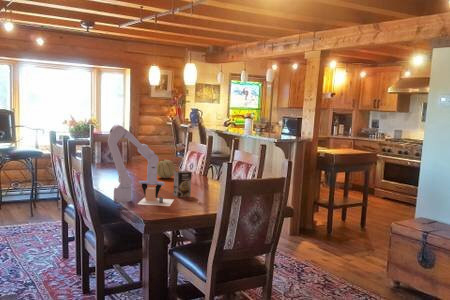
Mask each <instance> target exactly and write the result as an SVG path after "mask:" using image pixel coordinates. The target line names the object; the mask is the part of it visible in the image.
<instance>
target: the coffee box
mask: <svg viewBox="0 0 450 300" xmlns="http://www.w3.org/2000/svg"><path fill="white" fill-rule="evenodd" d="M172 190H173V193H172V195H173V196H174V197H177V198H185V197H188V198H191V190H192V171H187V170H181V171H178V170H177V171H176V170H175V172H174V174H173V189H172Z"/></svg>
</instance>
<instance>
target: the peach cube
mask: <svg viewBox="0 0 450 300" xmlns="http://www.w3.org/2000/svg"><path fill="white" fill-rule="evenodd" d="M144 198H145V200H150V201H155V200H156V199H158V197H157V198H156V187H148V186H147V188H146V196H145V195H144Z"/></svg>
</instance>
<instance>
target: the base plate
mask: <svg viewBox="0 0 450 300" xmlns="http://www.w3.org/2000/svg"><path fill="white" fill-rule="evenodd" d="M174 201H175V199H171V198H163V203H159V198H157V199H156V200H155V201H150V200H145V197H143V198H142V199H141V200H139V202H138V203H137V205H143V206H162V207H163V206H164V207H170V206H171V205H172V204H173V202H174Z"/></svg>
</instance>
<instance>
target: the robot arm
mask: <svg viewBox="0 0 450 300" xmlns="http://www.w3.org/2000/svg"><path fill="white" fill-rule="evenodd" d="M121 138H124V139H127V140H128V141H130V143H132V144H133V145H134V147H136V148H137V152H138V153H139V154H140V155H141V157H143V158H144V159H146V161H147V167H146V180H139V181H138V185H140V186H141V188H142V190H143V194H144V197H145V196H146V188H148V186H155V188H156V198H157V199H158V196H159V191H160V190H161V188H162V187H164V186H165V181H158V174H157V164H158V163H159V162H160V161H159V160H160V158H159V156H158V155H157V154H156V153H155V152H154V150H152V149H151V148H150V147H149V145H148V144H145V143H141V142H140V140H138V139H137V137H135V136H134V134H133V133H132V132H130V131H129V130H127V129H126V128H125V127H124V126H122V125H120V124H114V125H113V126H112V127H111V128H110V130H109V134H108V139H107V144H108V148H109V151H110V154H111V157H112V160H113V162H114V166H115V169H116V171H117V175H118V179H117V180H118V182H119V185H118V186H115V187H114V189H113V202H122V203H128V202H131V201H132V183H133V180H132V178H131V177H130V175H129V174H128V172H127V171H128V170H127V169H126V165H125V164H124V160H123V157H122V154H121V152H120V149H119V146H118V142H119V141H120V139H121Z"/></svg>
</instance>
